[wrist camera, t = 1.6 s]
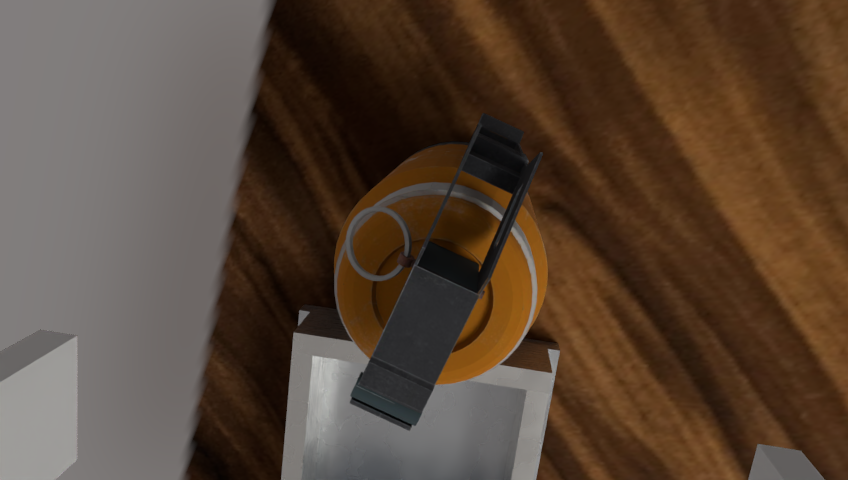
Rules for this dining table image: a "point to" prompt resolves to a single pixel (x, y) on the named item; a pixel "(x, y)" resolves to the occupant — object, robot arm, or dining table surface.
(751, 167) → the dining table surface
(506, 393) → the grey holder tray
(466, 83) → the dining table surface
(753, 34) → the dining table surface
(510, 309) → the canister
